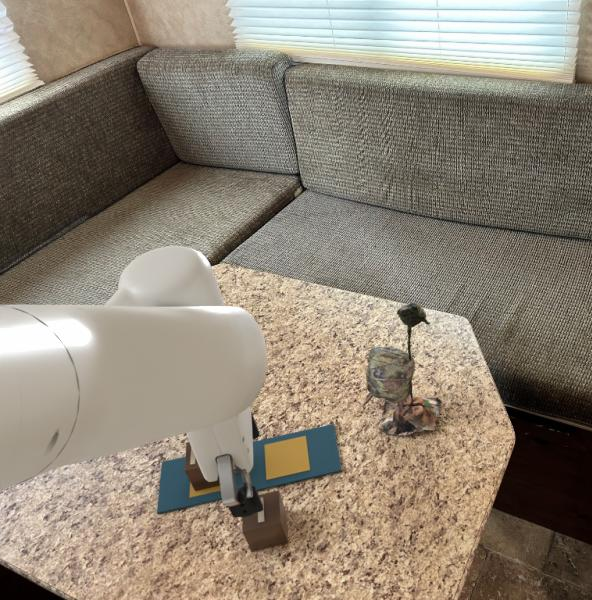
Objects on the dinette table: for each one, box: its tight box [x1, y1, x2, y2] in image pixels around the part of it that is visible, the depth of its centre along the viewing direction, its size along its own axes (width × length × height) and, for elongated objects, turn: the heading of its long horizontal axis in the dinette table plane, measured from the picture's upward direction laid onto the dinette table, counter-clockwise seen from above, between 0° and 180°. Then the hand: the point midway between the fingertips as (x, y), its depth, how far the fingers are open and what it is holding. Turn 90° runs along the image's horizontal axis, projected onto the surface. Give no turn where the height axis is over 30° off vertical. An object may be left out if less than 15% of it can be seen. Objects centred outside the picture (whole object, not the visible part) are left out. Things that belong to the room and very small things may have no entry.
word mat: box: [156, 423, 343, 515], centre depth 82 cm, size 8×24×1 cm, turn 102°
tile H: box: [184, 441, 220, 491], centre depth 80 cm, size 4×4×5 cm
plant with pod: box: [361, 301, 443, 437], centre depth 81 cm, size 8×11×20 cm
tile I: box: [241, 489, 290, 552], centre depth 73 cm, size 4×4×5 cm
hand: (247, 473), depth 68 cm, fingers open, 9 cm apart
